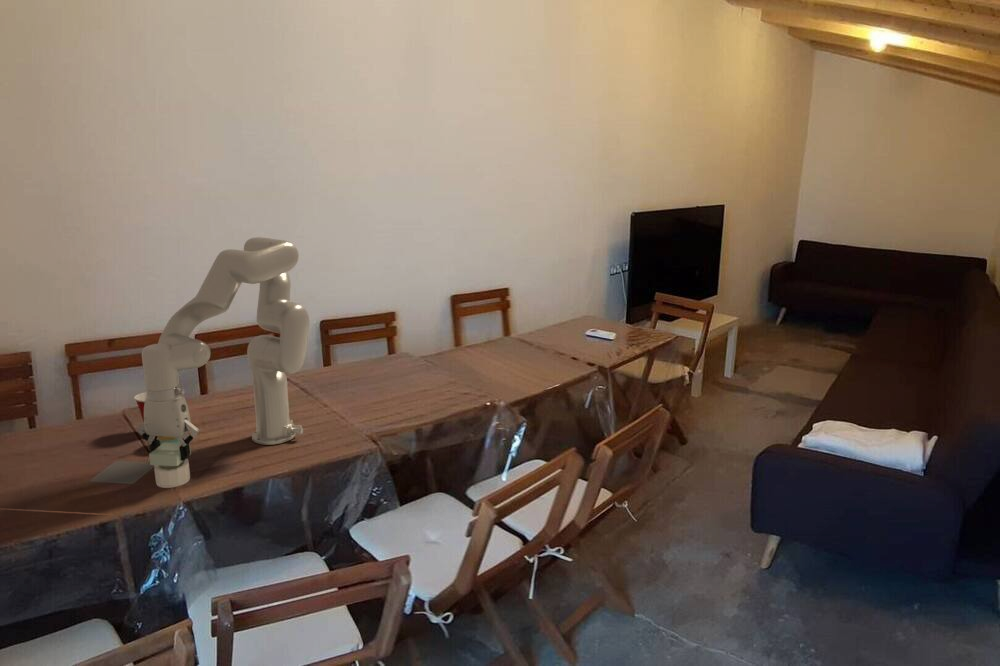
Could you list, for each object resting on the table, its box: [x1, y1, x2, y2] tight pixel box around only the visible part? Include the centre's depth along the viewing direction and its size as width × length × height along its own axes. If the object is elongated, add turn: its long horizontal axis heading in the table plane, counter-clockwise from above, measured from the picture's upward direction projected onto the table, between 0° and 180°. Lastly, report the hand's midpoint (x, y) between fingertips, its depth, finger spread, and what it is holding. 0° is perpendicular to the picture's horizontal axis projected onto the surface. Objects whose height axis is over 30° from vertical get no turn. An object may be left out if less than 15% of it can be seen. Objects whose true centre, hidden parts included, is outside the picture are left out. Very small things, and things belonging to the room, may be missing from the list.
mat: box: [88, 460, 154, 485], centre depth 177 cm, size 12×12×1 cm
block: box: [148, 442, 192, 466], centre depth 171 cm, size 7×7×3 cm
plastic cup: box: [133, 391, 147, 423], centre depth 202 cm, size 11×11×12 cm
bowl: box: [153, 458, 191, 489], centre depth 173 cm, size 8×8×5 cm
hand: (171, 457), depth 172 cm, fingers closed on block, 6 cm apart
